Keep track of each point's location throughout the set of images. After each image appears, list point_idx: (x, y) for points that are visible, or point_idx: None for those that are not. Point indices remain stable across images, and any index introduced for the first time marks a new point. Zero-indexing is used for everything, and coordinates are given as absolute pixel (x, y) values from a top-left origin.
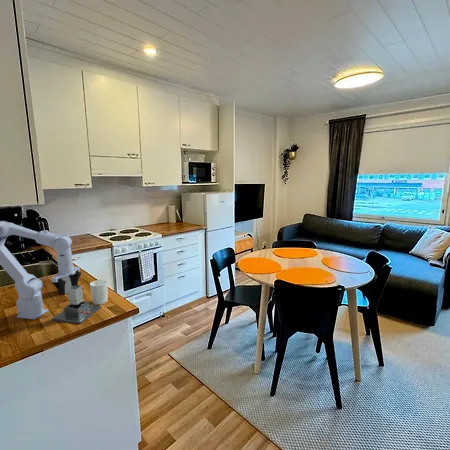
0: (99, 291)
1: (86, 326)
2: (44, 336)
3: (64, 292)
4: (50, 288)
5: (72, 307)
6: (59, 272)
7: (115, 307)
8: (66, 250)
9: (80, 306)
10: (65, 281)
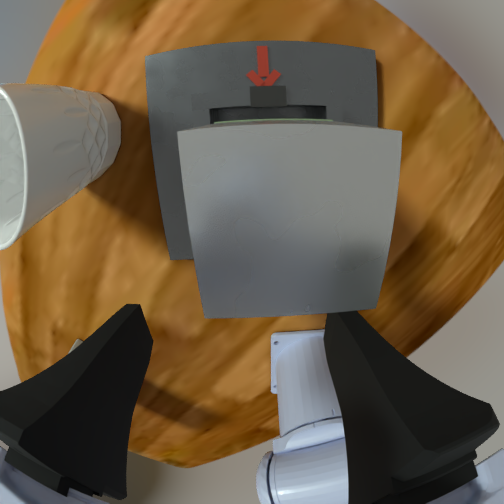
0: (51, 96)
1: (381, 10)
2: (475, 172)
3: (347, 313)
4: None
5: None
6: None
7: None
8: None
9: (294, 100)
10: (438, 442)
